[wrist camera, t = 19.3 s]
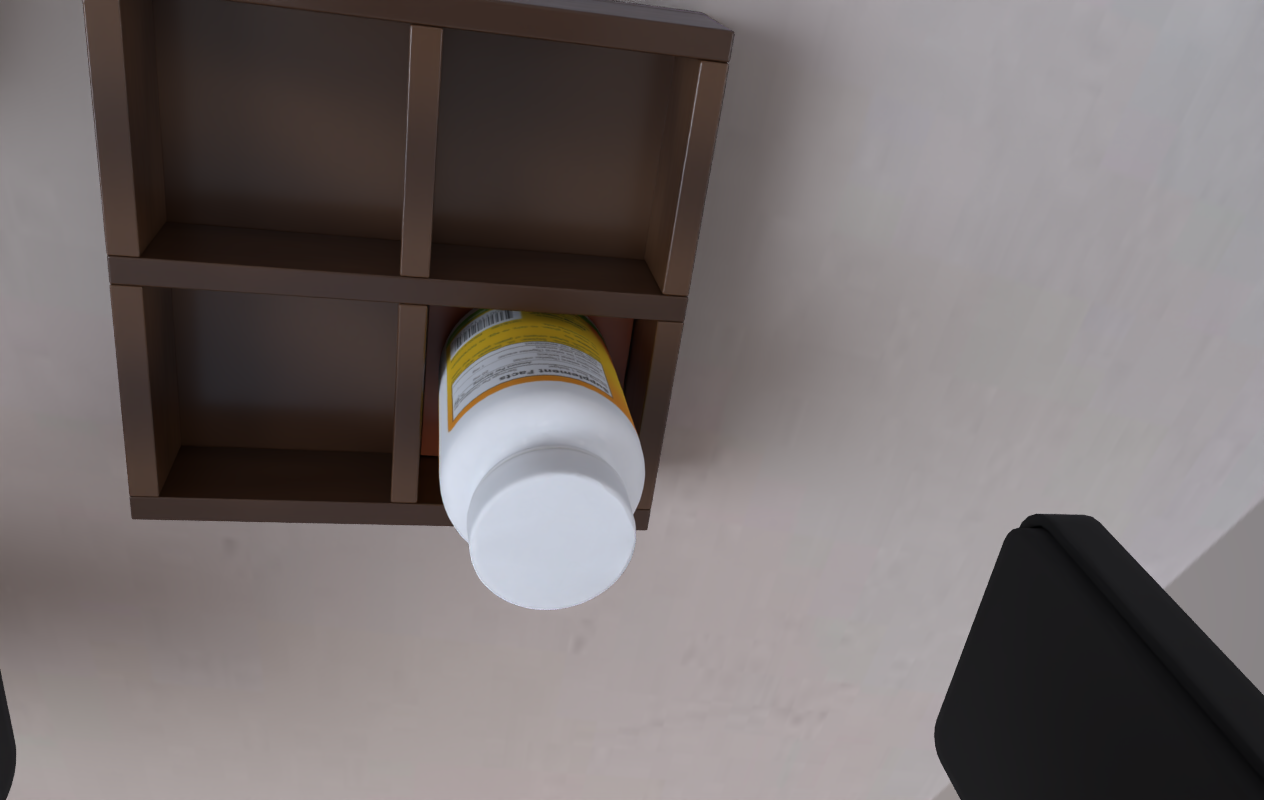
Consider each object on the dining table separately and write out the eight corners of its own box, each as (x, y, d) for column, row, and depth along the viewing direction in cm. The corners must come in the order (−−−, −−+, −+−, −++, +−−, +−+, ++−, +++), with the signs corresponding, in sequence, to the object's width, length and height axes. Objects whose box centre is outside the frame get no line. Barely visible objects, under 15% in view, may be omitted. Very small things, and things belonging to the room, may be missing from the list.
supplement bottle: (577, 454, 34) (622, 650, 26) (419, 419, 33) (412, 615, 24) (631, 312, 32) (700, 475, 24) (465, 266, 31) (475, 423, 22)
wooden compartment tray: (120, -66, 26) (76, -55, 23) (704, 12, 29) (735, 31, 26) (160, 456, 33) (131, 519, 30) (629, 472, 36) (647, 530, 33)
